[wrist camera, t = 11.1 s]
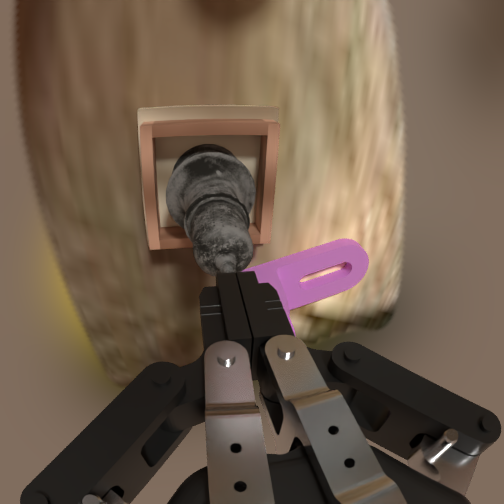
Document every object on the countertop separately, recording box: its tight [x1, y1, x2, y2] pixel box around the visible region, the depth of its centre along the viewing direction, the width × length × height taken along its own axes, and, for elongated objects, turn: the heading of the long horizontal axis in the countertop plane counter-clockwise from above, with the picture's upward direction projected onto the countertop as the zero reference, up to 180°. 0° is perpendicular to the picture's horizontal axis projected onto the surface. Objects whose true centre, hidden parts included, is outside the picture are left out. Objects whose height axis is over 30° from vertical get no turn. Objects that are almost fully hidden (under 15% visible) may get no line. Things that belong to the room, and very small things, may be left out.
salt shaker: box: [166, 144, 256, 276], centre depth 19 cm, size 6×6×12 cm
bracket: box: [241, 239, 369, 337], centre depth 29 cm, size 13×6×7 cm, turn 104°
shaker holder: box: [138, 105, 280, 250], centre depth 23 cm, size 11×10×3 cm
